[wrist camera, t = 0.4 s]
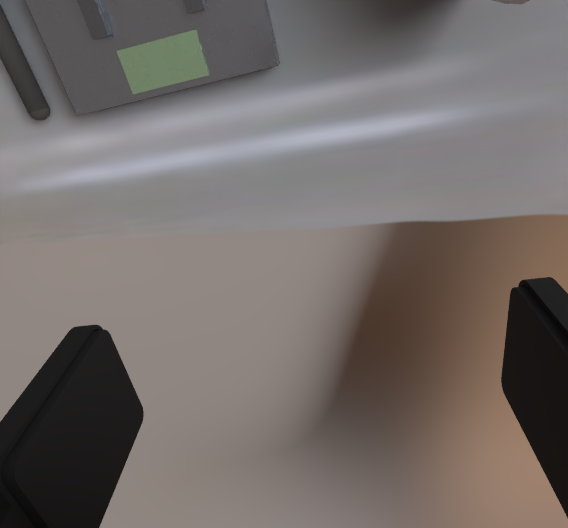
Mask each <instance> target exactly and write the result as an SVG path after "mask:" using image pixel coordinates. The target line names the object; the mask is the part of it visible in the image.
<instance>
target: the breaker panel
mask: <svg viewBox="0 0 568 528" xmlns="http://www.w3.org/2000/svg"><path fill="white" fill-rule="evenodd" d="M25 1H26V3H27V6H28V8H29V10H30V12H31V14H32V17H33V19H34V21H35V23H36V26H37V28H38V30H39V32H40V34H41V37H42V39H43V41H44V43H45V45H46V48H47V50H48V52H49V54H50V57H51V59H52V61H53V63H54V65H55V68H56V70H57V72H58V74H59V76H60V79H61V81H62V83H63V85H64V88H65V90H66V92H67V94H68V96H69V99H70V101H71V103H72V105H73V108H74V110H75V112H76V114H77V116H78V115H82V114H86V113H90V112H94V111H98V110H102V109H106V108H110V107H114V106H118V105H122V104H126V103H130V102H134V101H138V100H142V99H146V98H150V97H154V96H158V95H162V94H166V93H170V92H174V91H178V90H182V89H186V88H190V87H194V86H198V85H202V84H206V83H210V82H214V81H218V80H222V79H226V78H230V77H234V76H238V75H242V74H246V73H250V72H254V71H258V70H262V69H266V68H270V67H274V66H278V65H279V63H280V62H279V57H278V52H277V48H276V43H275V39H274V34H273V29H272V25H271V20H270V16H269V11H268V6H267V2H266V0H25Z"/></svg>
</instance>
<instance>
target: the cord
mask: <svg viewBox="0 0 568 528" xmlns="http://www.w3.org/2000/svg"><path fill="white" fill-rule="evenodd" d="M0 57H1V59H2V61H3V63H4V65H5V67H6V69H7V71H8V73H9V75H10V77H11V79H12V81H13V83H14V85H15V87H16V89H17V91H18V93H19V95H20V97H21V99H22V101H23V103H24V105H25V107H26V109H27V111H28V113H29V115H30V116H31V117H32V118H34V119H36V120H44V119H46V118H47V117H48V116H49V114H50V108H49V106H48V104H47V102H46V100H45V97H44V95H43V93H42V91H41V89H40V87H39V85H38V83H37V81H36V79H35V76H34V74H33V72H32V70H31V68H30V66H29V64H28V62H27V60H26V58H25V56H24V53H23V51H22V49H21V47H20V45H19V43H18V41H17V39H16V37H15V35H14V32H13V30H12V28H11V26H10V24H9V22H8V20H7V18H6V16H5V14H4V12H3V9H2V7H1V5H0Z"/></svg>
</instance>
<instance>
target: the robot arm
mask: <svg viewBox="0 0 568 528" xmlns="http://www.w3.org/2000/svg"><path fill="white" fill-rule="evenodd" d="M501 382H502V388H503V391H504V394H505V396H506V398H507V400H508V402H509V404H510V406H511V408H512V410H513V412H514V414H515V416H516V418H517V420H518V422H519V423H520V426H521V428H522V429H523V431H524V433H525V435H526V437H527V439H528V441H529V443H530V445H531V447H532V449H533V451H534V453H535V455H536V457H537V459H538V461H539V462H540V465H541V467H542V469H543V471H544V472H545V474H546V476H547V478H548V480H549V482H550V484H551V486H552V488H553V490H554V492H555V494H556V496H557V498H558V499H559V502H560V504H561V506H562V508H563V509H564V511H565V513H566V515H567V517H568V294H567V292H566V291H565V290H564V289H563V288H562V287H561V286H560V285H559V284H558V283H557V282H556V281H555V280H554V279H553V278H550V277H547V278H537V279H528V280H522V281H521V282H520V283H519V287H515V288H512V290H511V293H510V302H509V311H508V321H507V331H506V339H505V349H504V358H503V368H502V377H501ZM142 421H143V407H142V405H141V403H140V400H139V398H138V396H137V394H136V391H135V389H134V387H133V385H132V383H131V380H130V378H129V376H128V373H127V371H126V369H125V367H124V364H123V362H122V360H121V358H120V356H119V353H118V351H117V349H116V346H115V344H114V342H113V340H112V337H111V335H110V334H109V332H108V331H107V330H103V329H102V327H100V326H99V325H89V326H79V327H74V328H72V329H71V330H70V331H69V332H68V333H67V335H66V336H65V338H64V339H63V340H62V341H61V343H60V344H59V345H58V347H57V348H56V349H55V351H54V352H53V353H52V355H51V356H50V357H49V359H48V360H47V361H46V363H45V364H44V365H43V366H42V368H41V369H40V370H39V372H38V373H37V374H36V376H35V377H34V378H33V380H32V381H31V382H30V384H29V385H28V386H27V388H26V389H25V390H24V392H23V393H22V394H21V395H20V397H19V398H18V399H17V401H16V402H15V403H14V405H13V406H12V407H11V409H10V410H9V411H8V413H7V414H6V415H5V417H4V418H3V419H2V421H1V422H0V528H99V526H100V524H101V522H102V519H103V517H104V514H105V512H106V509H107V507H108V505H109V502H110V499H111V497H112V495H113V492H114V490H115V488H116V485H117V483H118V480H119V478H120V475H121V473H122V470H123V468H124V466H125V463H126V461H127V458H128V456H129V453H130V451H131V449H132V446H133V444H134V441H135V439H136V436H137V433H138V431H139V429H140V427H141V424H142Z"/></svg>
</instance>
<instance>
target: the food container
mask: <svg viewBox="0 0 568 528" xmlns="http://www.w3.org/2000/svg"><path fill="white" fill-rule="evenodd" d="M493 1H497V2H501V3H507V4H523V3H525V2H527V1H529V0H493Z"/></svg>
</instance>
